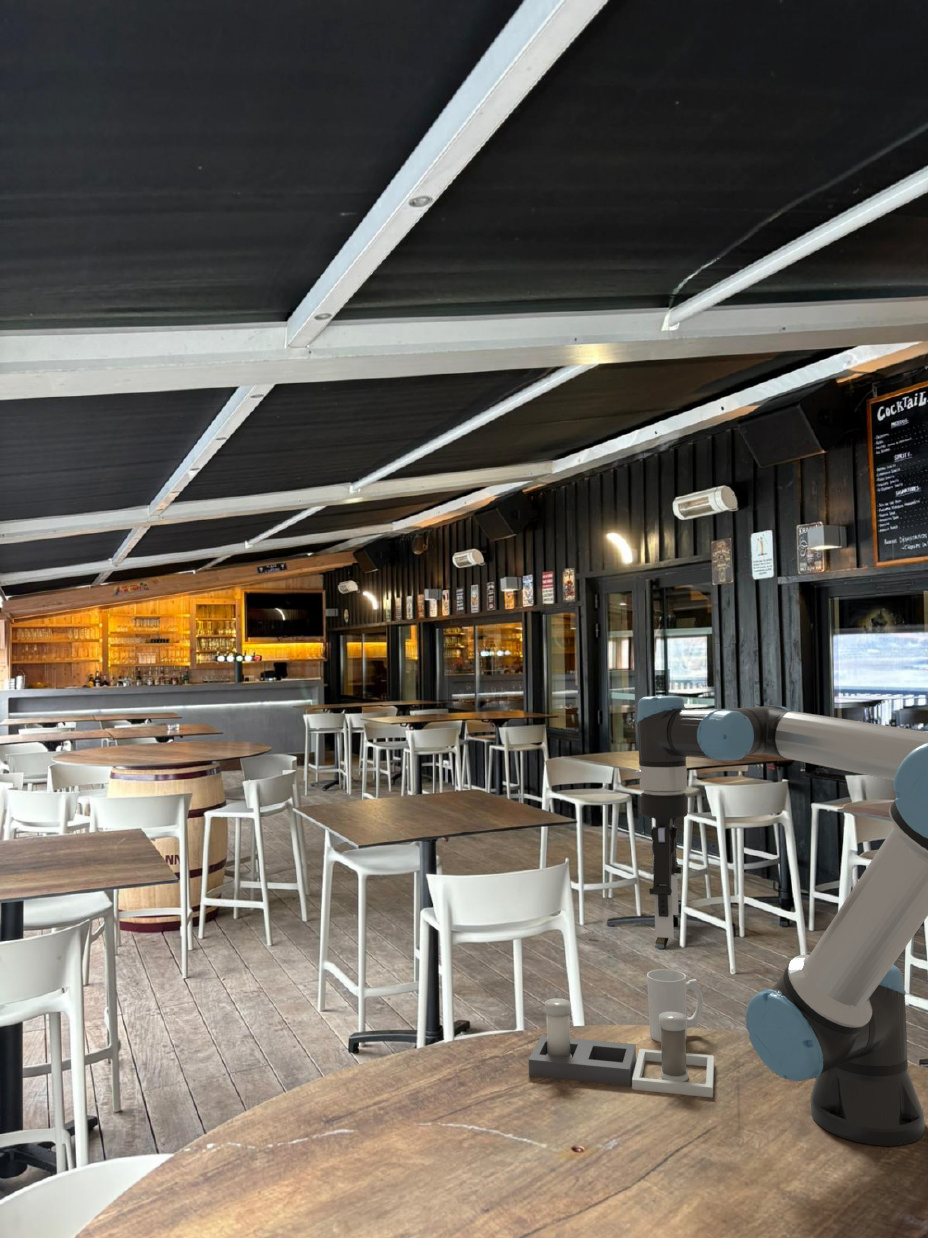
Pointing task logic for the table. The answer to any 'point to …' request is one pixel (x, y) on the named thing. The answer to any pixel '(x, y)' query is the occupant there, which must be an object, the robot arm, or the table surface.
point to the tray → (674, 1086)
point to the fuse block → (586, 1062)
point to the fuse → (558, 1027)
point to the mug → (670, 998)
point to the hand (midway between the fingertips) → (667, 925)
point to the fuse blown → (673, 1046)
